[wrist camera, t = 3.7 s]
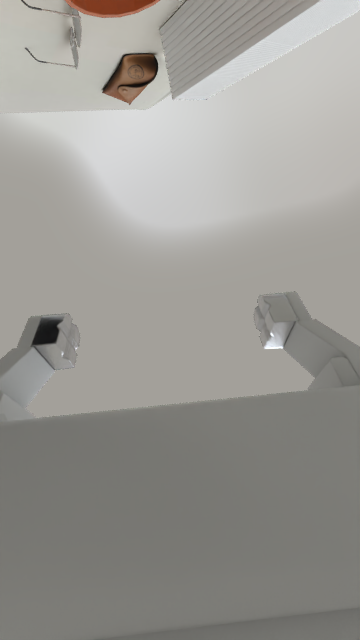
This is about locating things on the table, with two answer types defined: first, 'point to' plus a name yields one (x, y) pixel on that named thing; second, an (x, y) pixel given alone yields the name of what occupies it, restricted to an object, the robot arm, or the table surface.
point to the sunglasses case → (132, 76)
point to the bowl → (110, 7)
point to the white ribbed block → (239, 38)
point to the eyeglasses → (72, 39)
